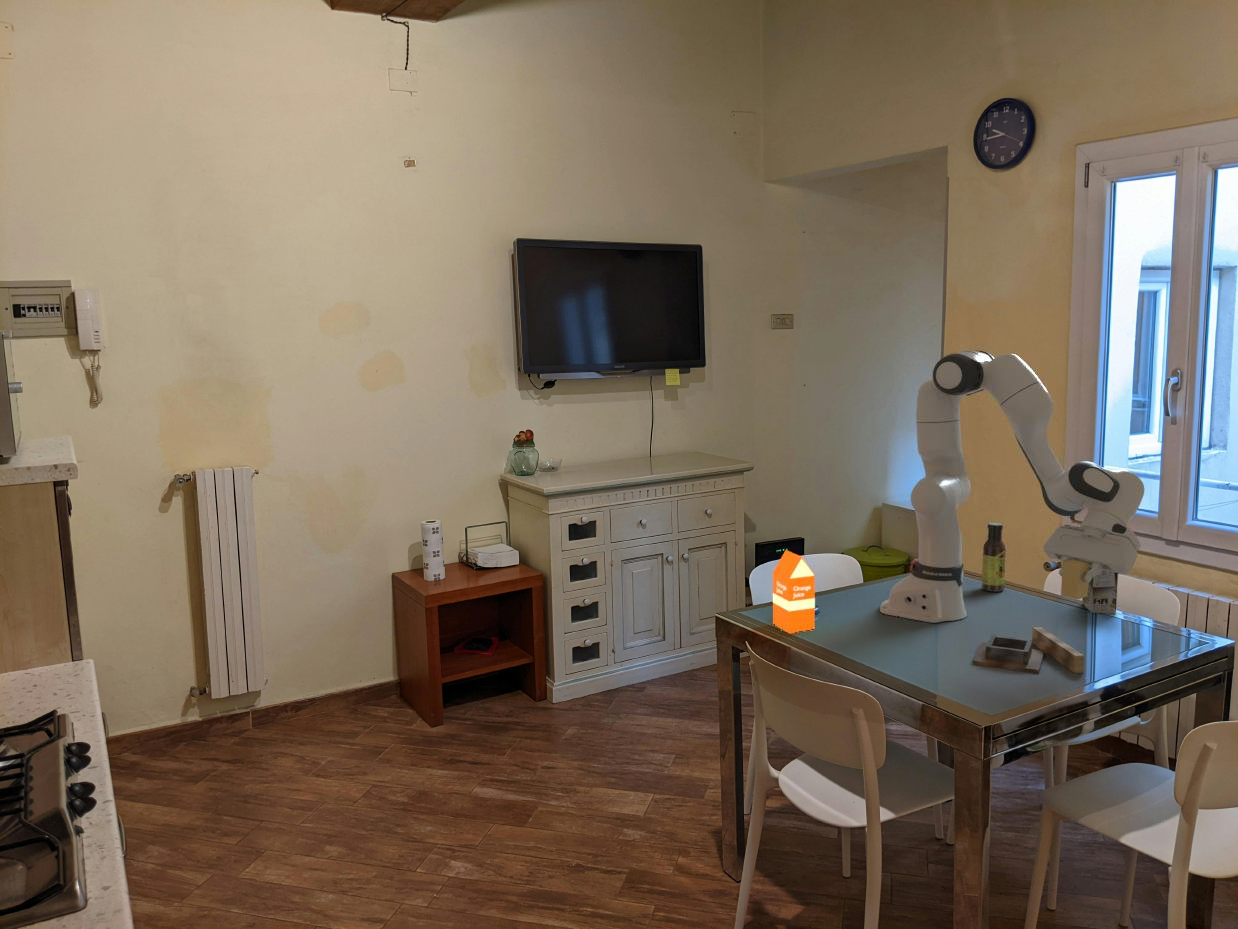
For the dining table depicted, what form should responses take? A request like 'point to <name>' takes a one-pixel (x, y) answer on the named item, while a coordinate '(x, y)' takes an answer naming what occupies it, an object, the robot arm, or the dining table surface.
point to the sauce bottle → (994, 559)
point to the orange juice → (793, 594)
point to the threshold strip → (1058, 649)
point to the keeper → (1009, 654)
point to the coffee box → (1102, 593)
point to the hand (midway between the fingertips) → (1073, 578)
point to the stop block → (1074, 579)
